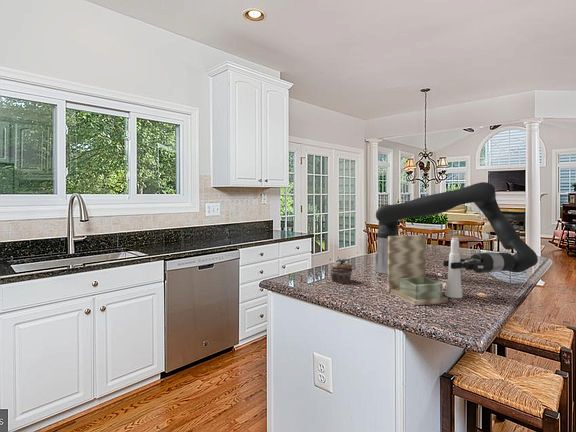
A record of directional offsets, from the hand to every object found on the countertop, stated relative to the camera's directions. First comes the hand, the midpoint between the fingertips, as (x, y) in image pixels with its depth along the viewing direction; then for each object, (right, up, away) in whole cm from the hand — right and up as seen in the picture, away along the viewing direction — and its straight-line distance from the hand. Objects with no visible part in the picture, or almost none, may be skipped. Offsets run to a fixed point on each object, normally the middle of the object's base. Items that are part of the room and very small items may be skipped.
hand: (447, 264), depth 134 cm
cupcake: (-36, -11, +26) cm, 46 cm away
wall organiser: (-11, -12, +1) cm, 16 cm away
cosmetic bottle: (+3, -12, +1) cm, 13 cm away
